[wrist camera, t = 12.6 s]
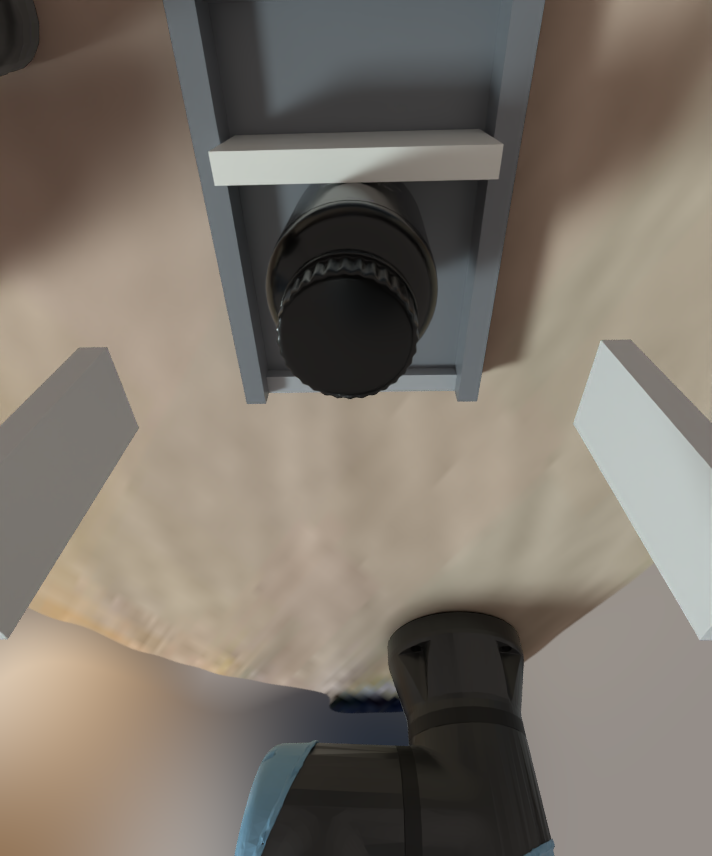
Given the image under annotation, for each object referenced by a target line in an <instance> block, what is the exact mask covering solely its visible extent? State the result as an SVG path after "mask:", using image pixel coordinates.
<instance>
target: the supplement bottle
mask: <svg viewBox="0 0 712 856" xmlns="http://www.w3.org/2000/svg"><path fill="white" fill-rule="evenodd" d="M437 297H438V279H437V271H436V266H435V262H434V259H433V255H432V252H431V248H430V245H429V241H428V238H427V234H426V231H425V227H424V224H423V220H422V217H421V213H420V211H419V208H418V206H417V203H416V201H415V199H414V197H413V196H412V194H411V193H410V191H409V190H408V189H407V187H406V186H405V185H404V184H403V183H402V182H358V183H315V184H310V185H309V187H308V188H307V189H306V190H305V192H304V193H303V195H302V196H301V198H300V199H299V201H298V203H297V205H296V207H295V209H294V211H293V212H292V214H291V216H290V218H289V220H288V222H287V224H286V226H285V228H284V230H283V231H282V233H281V235H280V237H279V239H278V241H277V243H276V245H275V247H274V250H273V252H272V254H271V257H270V261H269V264H268V268H267V273H266V298H267V303H268V308H269V311H270V314H271V316H272V319H273V321H274V323H275V325H276V331H277V334H278V336H277V343H278V345H279V347H280V355H281V356H282V357H283V358H284V360H285V365H286V366H287V367H288V368H290V369H291V371H292V374H293V375H294V376H295V377H297V378H299V379H300V381H301V382H302V384H305V385H308V386H309V387H310V388H311V389H312V390H314V391H319V392H321V393H322V394H324V395H332V396H334V397H336V398H343V397H344V398H348V399H352V398H355V397H358V398H364V397H366V396H368V395H375V394H377V393H378V392H379V391H383V390H386V389H387V388H388V387H389V386H390V385H392V384H394V383H396V382H397V381H398V379H399V377H401V376H403V375H404V374H405V373H406V369H407V367H409V366H410V365H411V364H412V360H413V356H414V355H415V354H416V352H417V345H416V344H417V343H418V341H419V340H420V339H421V338H422V336H423V335H424V334H425V332H426V330H427V328H428V327H429V325H430V322H431V320H432V318H433V315H434V312H435V308H436V304H437Z"/></svg>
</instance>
